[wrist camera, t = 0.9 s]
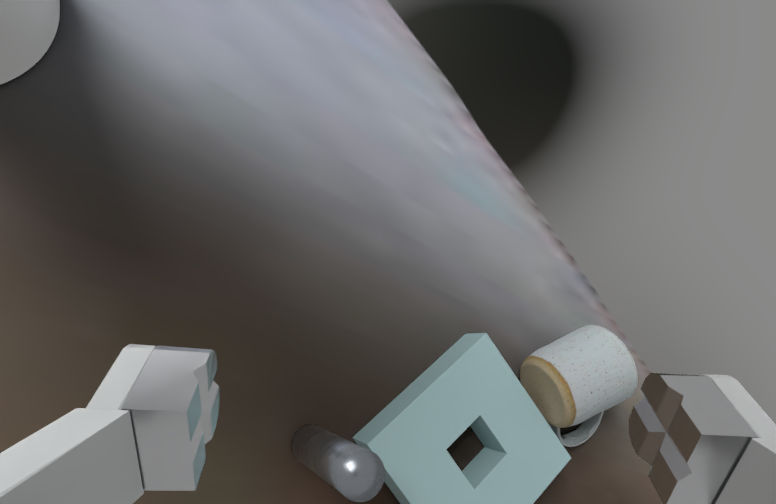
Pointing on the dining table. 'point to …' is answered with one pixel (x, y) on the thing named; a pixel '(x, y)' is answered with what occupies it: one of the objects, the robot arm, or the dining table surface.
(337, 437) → the pin
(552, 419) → the ceramic mug
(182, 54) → the dining table surface
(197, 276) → the dining table surface
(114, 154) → the dining table surface
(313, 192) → the dining table surface
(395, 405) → the socket block
